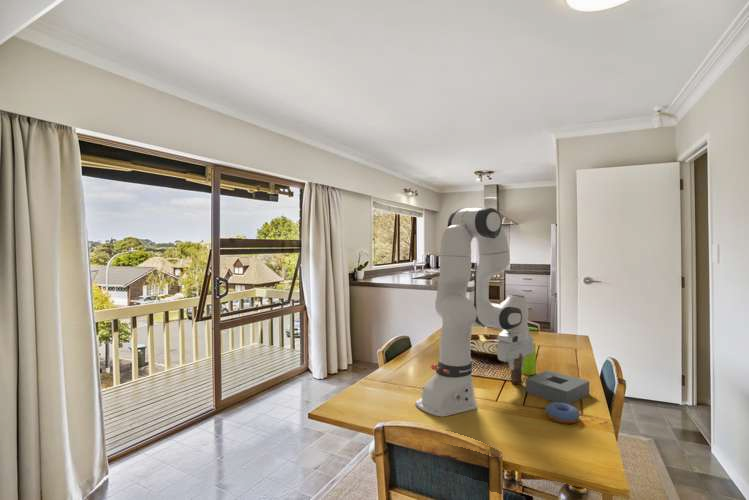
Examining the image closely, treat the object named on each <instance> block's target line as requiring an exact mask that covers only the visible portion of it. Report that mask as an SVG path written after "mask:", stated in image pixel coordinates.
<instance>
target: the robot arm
mask: <svg viewBox="0 0 749 500" xmlns="http://www.w3.org/2000/svg"><path fill="white" fill-rule="evenodd" d="M502 223H503V222H502V217H501V214H500V213H499V211H498V210H497V209H495V208H492V207H487V206H485V207H467V208H464V209H462V208H461V209H460V208H459V209H457V210H455V211H453V212H452V213H451V214H450V215H449V217H448V219H447V227H445V228H444V230H443V232H442V236H441V241H440V251H439V253H440V255H439V280H438V283H437V284H438V285H437V289H436V296H435V297H436V298H435V303H434V305H435V310H436V313H437V314H438V316H439V317H440V318H441V319H442V326H441V334H440V338H439V360H438V363H437V364H436V363H432V364H431V366H430V369H431V370H433V371H435V373H434V375H433V376H432V377H431V378H430V379H429V380H428V382H426V384H424V386H423V388H422V393H421V394H422V395H421V397H420V398H418V399H417V400H415V405H416V407H417V408H419V410H422V411H423V412H425V413H427V414H430V415H433V416H436V417H448V416H451V415H452V416H453V415H456V414H461V413H464V412H469V411H472V410H476V409H478V405H477V403H476V402H477V400H476V397H475V391H474V382H473V378H472V373H473V364H472V361H471V360H472V358H471V357H472V356H471V339H472V334H473V329H474V323H476V324H477V325H478V326H480V327H481V326H483V327H490V328H493V329H498V330H502V331H501V332H499V333H498V334H497V336H496V339H497V347H496V349H497V350H496V352H497V353H496V354H497V355H496V356H497V359H498V360H499V361H500V362H504V363H508V365H509V366H508V367H509V370H510V371H511V370H515V365H514V363H513V362H514V359H517V358H519V354H521V353H522V367H523V363H524V360H525V356H527V355H530V354H533V352H534V343H535V342H534V339H533V335H532V333H531V331H530V332H528V327H529V325H528V319H529V304H528V299H527V297H526V296H523V295H519V294H513V293H512V294H511V293H509V294H507V295H506V298H505V300H504V301H502V302H500V303H494V302H491V300H490V299H489V298H490V297H489V295H490V294H489V293H490V292H489V289H490V280H491V279H492V278H493V277H495V276H497V275H499V274H502V273H504V271H506V270H507V269H508V267H509V265H510V261H511V258H510V250H509V249H510V247H509V242H508V238H507V237H508V236H507V234H506V231H505V228H504V226H503V225H502ZM474 238H476V240H477V242H478V244H477V245H478V256H479V257H478V259H479V260H478V264H477V266H476V267H475V269H474V276H473V277H474V279H473V281H474V283H473V284H474V285H473V287H474V288H473V302H472V301H471V300H470V299H469V298H468V297H467V290H468V285H469V282H470V280H471V277H472V275H471V274H472V245H471V244H472V241H473V239H474ZM533 342H534V343H533Z"/></svg>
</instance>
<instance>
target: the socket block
mask: <svg viewBox="0 0 749 500" xmlns="http://www.w3.org/2000/svg"><path fill="white" fill-rule="evenodd" d="M525 393H529V394H531V395H535V396H537V397H539V398H543V399H546V400H549V401H552V402H553V403H554V402H561V403H566V404H569V405H572V404H573V403H575V402H578V401H579V400H581V399H583V398H585V397H588V396H589V395H590V381H589V380H586V379H582V378H578V377H576V376H571V375H568V374H563V373H561V372H557V371H553V370H549V369H547V370H545V371H543V372H540V373H537V374H534V375H530V376H529V377H526V378H525Z"/></svg>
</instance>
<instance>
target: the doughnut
mask: <svg viewBox="0 0 749 500" xmlns="http://www.w3.org/2000/svg"><path fill="white" fill-rule="evenodd" d="M545 414H546V416H547V417H548V419H550V420H551V421H553V422H556V423H558V424H565V425H571V424H572V425H573V424H575V423H577V422H578V421H579V420H580V412H579V409H578V408H576V407H575V406H573V405H572V404H570V405H569V404H566V403H561V402H554V401H553V402H550V403H547V405H546V406H545Z"/></svg>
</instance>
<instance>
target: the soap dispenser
mask: <svg viewBox="0 0 749 500" xmlns="http://www.w3.org/2000/svg"><path fill="white" fill-rule="evenodd" d="M531 330H533V331H538V330H539V328H537V327H533V326H532V327H531V326H528V332H530V333H531ZM533 343H534V352H533V354H530V355H527V356H525V360H524V363H523V367H522V375H527V376H534V375H537V374H536V365H537V363H536V360H537V358H536V356H537V355H536V342H534V341H533Z"/></svg>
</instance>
